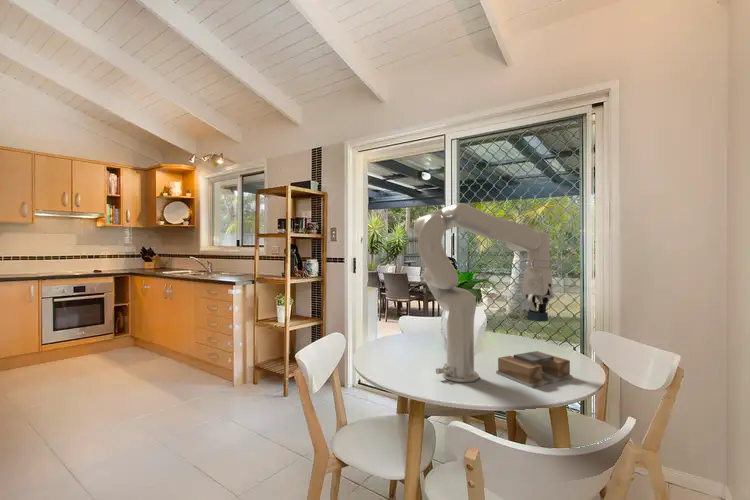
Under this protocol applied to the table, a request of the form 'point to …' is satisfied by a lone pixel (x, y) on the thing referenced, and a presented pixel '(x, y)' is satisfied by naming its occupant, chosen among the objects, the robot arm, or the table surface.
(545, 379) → the watch stand
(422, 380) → the table surface
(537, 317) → the watch
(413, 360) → the table surface
